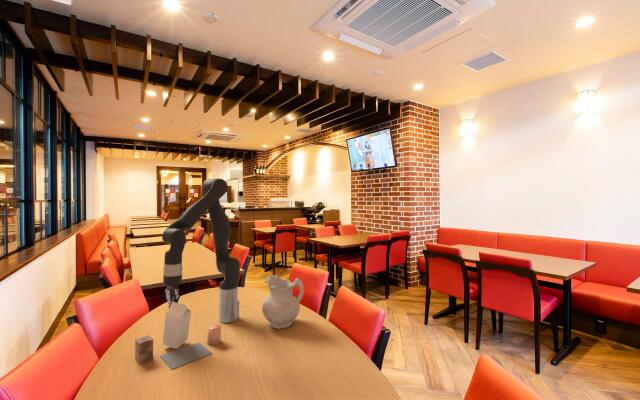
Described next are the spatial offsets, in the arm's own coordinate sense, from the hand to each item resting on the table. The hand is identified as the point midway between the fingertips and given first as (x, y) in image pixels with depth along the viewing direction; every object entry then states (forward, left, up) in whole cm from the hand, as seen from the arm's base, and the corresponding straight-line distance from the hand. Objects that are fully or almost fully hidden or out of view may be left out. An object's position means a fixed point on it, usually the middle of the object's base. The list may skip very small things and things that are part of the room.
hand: (171, 312), depth 131 cm
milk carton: (-1, +3, -13) cm, 13 cm away
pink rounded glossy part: (-14, +12, -14) cm, 23 cm away
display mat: (-1, +14, -14) cm, 20 cm away
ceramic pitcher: (-48, +19, -14) cm, 53 cm away
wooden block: (+12, +5, -14) cm, 19 cm away
